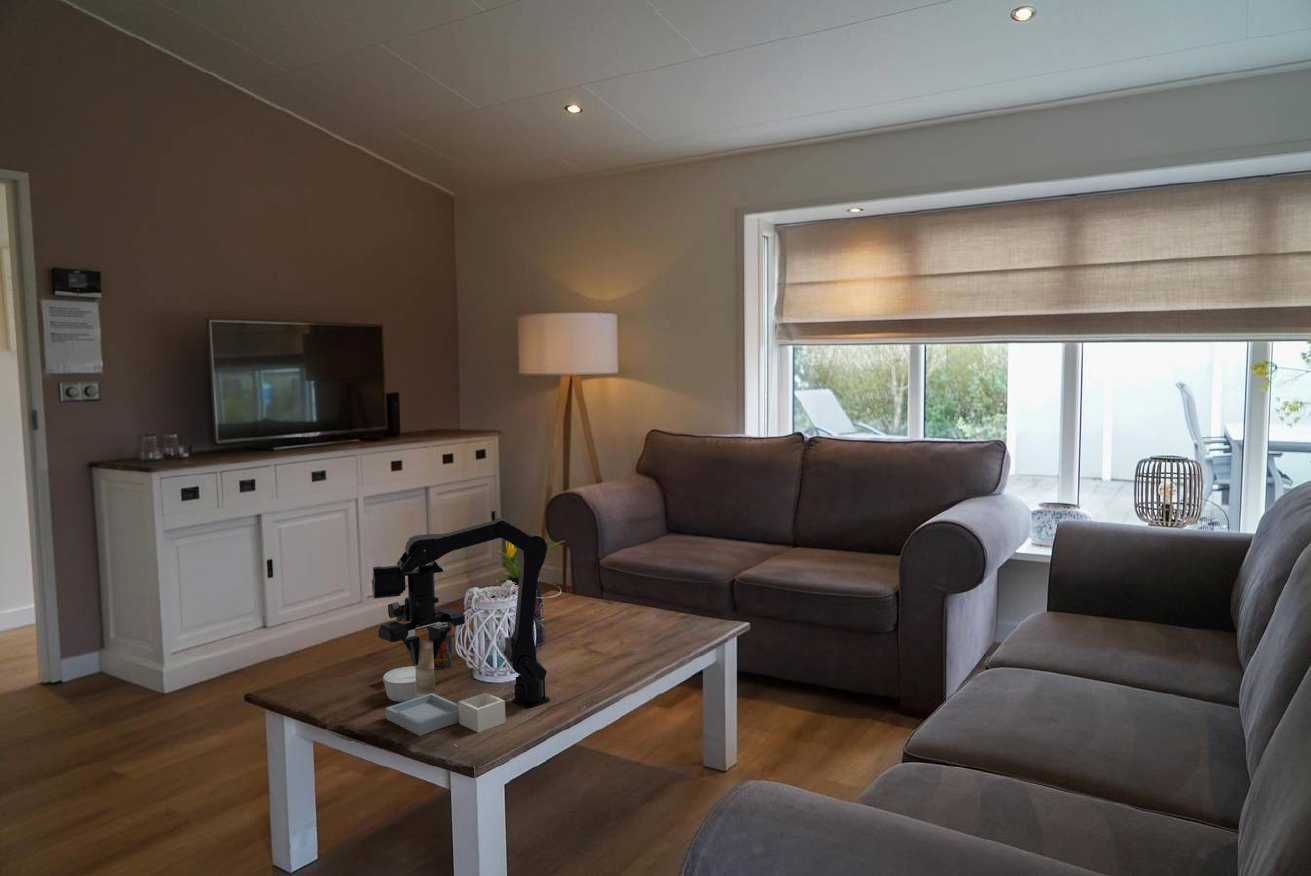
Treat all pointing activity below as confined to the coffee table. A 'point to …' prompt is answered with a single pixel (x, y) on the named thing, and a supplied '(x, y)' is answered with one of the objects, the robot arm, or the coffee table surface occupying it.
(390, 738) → the coffee table surface
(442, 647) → the deodorant
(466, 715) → the white open box
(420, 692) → the beech dowel
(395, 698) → the ramekin
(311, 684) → the coffee table surface
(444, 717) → the slate tray
